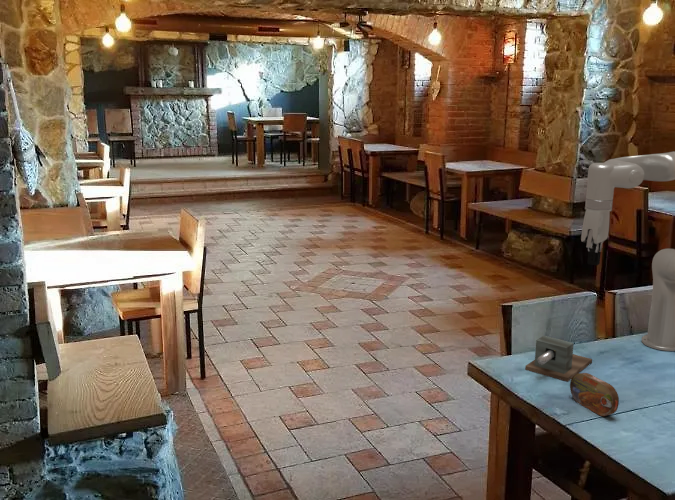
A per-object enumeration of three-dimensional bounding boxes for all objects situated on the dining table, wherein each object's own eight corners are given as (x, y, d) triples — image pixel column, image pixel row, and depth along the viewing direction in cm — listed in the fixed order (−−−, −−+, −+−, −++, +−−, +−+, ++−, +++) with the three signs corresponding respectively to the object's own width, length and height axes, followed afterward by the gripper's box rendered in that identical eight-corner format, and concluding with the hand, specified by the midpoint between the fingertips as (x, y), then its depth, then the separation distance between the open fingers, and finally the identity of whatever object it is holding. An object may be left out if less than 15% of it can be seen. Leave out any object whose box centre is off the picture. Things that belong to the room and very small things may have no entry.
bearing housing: (551, 351, 214) (553, 324, 212) (591, 362, 206) (594, 334, 204) (525, 369, 201) (527, 340, 199) (567, 381, 193) (570, 351, 191)
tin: (567, 397, 183) (570, 368, 181) (577, 395, 185) (579, 366, 183) (609, 422, 170) (612, 391, 168) (619, 419, 171) (622, 389, 169)
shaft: (551, 353, 204) (553, 337, 203) (567, 357, 201) (569, 341, 200) (532, 366, 195) (533, 350, 194) (548, 371, 192) (550, 354, 190)
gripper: (595, 200, 210) (590, 257, 214) (576, 206, 199) (571, 267, 203) (620, 202, 205) (614, 261, 209) (601, 209, 194) (596, 271, 198)
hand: (593, 264), depth 206 cm, fingers closed
